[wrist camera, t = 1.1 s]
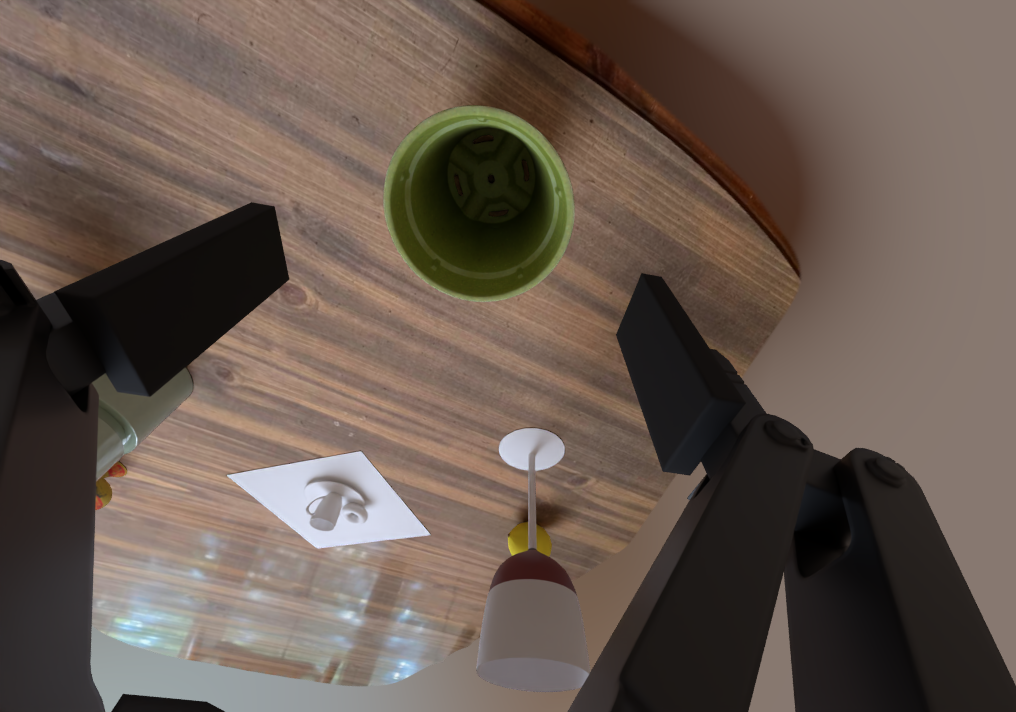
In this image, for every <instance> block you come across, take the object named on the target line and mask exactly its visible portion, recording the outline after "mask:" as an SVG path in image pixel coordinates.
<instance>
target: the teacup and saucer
mask: <svg viewBox="0 0 1016 712" xmlns="http://www.w3.org/2000/svg"><path fill="white" fill-rule="evenodd" d="M302 494H303V497H304V499H305V500H306V501H307V502H308V503H309V504H308V505H307V506H306V507H305V513H306V515H307V516H309V517H310V519H309V521H308V524H309V525H310V526H311V527H312V528H313V529H315V530H317V531H320V532H332V531H333V530H334V529H335V528H336V526H337V523H338V520H339V517H340V516H341V517H342V518H343V519H344V520H345V521H346V522H347V523H349V524H351V525H355V526H360V525H363V524H365V523H366V522H367V521H368V519H369V512H368V510H367V509H366V508H365V506H366V502H365V499H364V497H363V496H362V495H361V494H360V493H359V492H358V491H357V490H356V489H354V488H352V487H351V486H349V485H346V484H344V483H341V482H337V481H332V480H316V481H312V482H310V483H308V484H307V485H306V486H305V487H304V488H303V491H302ZM311 506H312V507H314V508H315V510H314V512H311V511H310V507H311Z"/></svg>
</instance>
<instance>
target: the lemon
mask: <svg viewBox="0 0 1016 712" xmlns="http://www.w3.org/2000/svg"><path fill="white" fill-rule="evenodd" d="M536 541H537V551H539V552H540V553H542V554H545V555H547V556H548V557H549V556H550V553H551V547H552V544H551V540H550V536H549V535H548V534H547V532H546V531H545V530H544V528H542V527H541V526H539V525H537V524H536ZM508 545H509V550H510V552H511V555H512V556H513V555H515V554H517V553H520V552H524V551H527V550H528V522H524V523H521V524H518V525H517V526H516V527H515V528H513V529H512V531H511V532H510V533H509V534H508Z"/></svg>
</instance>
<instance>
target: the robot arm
mask: <svg viewBox="0 0 1016 712" xmlns="http://www.w3.org/2000/svg"><path fill="white" fill-rule="evenodd" d="M288 280H289V275H288V270H287V266H286V261H285V256H284V251H283V246H282V241H281V236H280V231H279V226H278V221H277V216H276V211H275V207H274V206H269V205H263V204H258V203H252V202H251V203H249V204H247V205H245V206H243V207H240V208H238V209H236V210H234V211H232V212H229V213H227V214H225V215H223V216H220V217H218V218H216V219H214V220H212V221H209V222H207V223H205V224H203V225H201V226H198V227H196V228H194V229H192V230H190V231H187V232H185V233H183V234H181V235H178V236H176V237H174V238H172V239H170V240H167V241H165V242H163V243H161V244H159V245H156V246H154V247H152V248H150V249H147V250H145V251H143V252H141V253H139V254H136V255H134V256H132V257H130V258H128V259H125V260H123V261H121V262H119V263H116V264H114V265H112V266H110V267H108V268H105V269H103V270H101V271H99V272H97V273H94V274H92V275H90V276H88V277H85V278H83V279H81V280H79V281H77V282H74V283H72V284H70V285H68V286H66V287H63V288H61V289H59V290H57V291H55V292H53V293H51V294H49V295H47V296H44V297H42V298H40V299H38V300H36V299H35V298H34V296H33V295H32V293H31V292H30V290H29V289H28V288H27V286H26V285H25V283H24V282H23V280H22V279H21V277H20V276H19V274H18V273H17V271H16V270H15V268H14V267H13V265H12V264H11V263H8V262H6V261H3V260H0V712H105V709H104V705H103V701H102V698H101V696H100V694H99V692H98V690H97V688H96V686H95V684H94V682H93V679H92V674H91V665H90V657H91V627H92V596H93V565H94V534H95V503H96V472H97V441H98V410H99V394H98V392H97V390H96V388H95V387H94V385H93V384H92V382H94V381H95V380H97V379H98V378H99V377H101V376H102V375H104V374H105V373H106V375H107V376H108V378H109V380H110V381H111V383H112V384H113V386H114V388H115V389H116V391H117V392H120V393H127V394H134V395H141V396H147V397H151V396H152V395H153V394H154V393H156V392H157V391H158V390H159V389H160V388H161V387H163V386H164V385H165V384H166V383H167V382H169V381H170V380H171V379H172V378H173V377H174V376H176V375H177V374H178V373H179V372H180V371H182V370H183V369H184V368H185V367H186V366H187V365H189V364H190V363H191V362H192V361H193V360H195V359H196V358H197V357H198V356H199V355H200V354H202V353H203V352H204V351H205V350H206V349H208V348H209V347H210V346H211V345H212V344H214V343H215V342H216V341H217V340H218V339H219V338H221V337H222V336H223V335H224V334H225V333H227V332H228V331H229V330H230V329H231V328H232V327H234V326H235V325H236V324H237V323H238V322H240V321H241V320H242V319H243V318H244V317H245V316H247V315H248V314H249V313H250V312H251V311H253V310H254V309H255V308H256V307H257V306H258V305H260V304H261V303H262V302H263V301H264V300H266V299H267V298H268V297H269V296H270V295H271V294H273V293H274V292H275V291H276V290H277V289H279V288H280V287H281V286H282V285H283V284H284V283H286V282H287V281H288ZM616 336H617V339H618V342H619V345H620V348H621V351H622V354H623V357H624V360H625V362H626V365H627V368H628V371H629V374H630V377H631V380H632V383H633V386H634V389H635V392H636V395H637V398H638V400H639V403H640V406H641V409H642V412H643V415H644V418H645V421H646V424H647V427H648V430H649V433H650V436H651V438H652V441H653V444H654V447H655V450H656V453H657V456H658V459H659V462H660V465H661V468H662V471H663V472H670V473H677V474H684V475H691V473H692V472H693V471H694V469H695V468H696V467H697V466H698V464H699V463H700V462H702V464H703V466H704V468H705V471H706V473H707V474H706V476H705V477H704V478H703V479H702V481H701V482H700V483H699V484H698V485H697V487H696V488H695V489H694V490H693V492H692V493H691V494H690V495H689V496H688V498H687V499H689V500H690V501H689V502H688V504H687V506H686V508H685V509H684V511H683V513H682V515H681V517H680V518H679V520H678V521H677V523H676V525H675V527H674V528H673V530H672V532H671V533H670V535H669V537H668V539H667V540H666V542H665V544H664V546H663V547H662V549H661V551H660V553H659V554H658V556H657V558H656V560H655V561H654V563H653V565H652V566H651V568H650V570H649V572H648V573H647V575H646V577H645V578H644V580H643V582H642V584H641V586H640V587H639V589H638V591H637V593H636V594H635V596H634V598H633V599H632V601H631V603H630V605H629V606H628V608H627V610H626V612H625V613H624V615H623V617H622V619H621V620H620V622H619V623H618V625H617V627H616V629H615V630H614V632H613V634H612V636H611V638H610V639H609V641H608V643H607V644H606V646H605V648H604V649H603V651H602V653H601V655H600V656H599V658H598V660H597V662H596V663H595V665H594V667H593V669H592V670H591V672H590V674H589V675H588V677H587V679H586V681H585V682H584V684H583V686H582V688H581V689H580V691H579V693H578V694H577V696H576V698H575V700H574V701H573V703H572V705H571V707H570V709H569V710H568V712H748V710H749V706H750V702H751V698H752V694H753V691H754V687H755V683H756V679H757V675H758V671H759V667H760V663H761V659H762V655H763V651H764V647H765V643H766V639H767V635H768V631H769V628H770V624H771V619H772V616H773V612H774V607H775V604H776V600H777V596H778V591H779V588H780V584H781V580H782V576H783V572H784V579H785V591H786V602H787V615H788V627H789V638H790V651H791V663H792V675H793V687H794V699H795V711H796V712H1016V686H1015V683H1014V681H1013V679H1012V677H1011V675H1010V673H1009V671H1008V669H1007V667H1006V665H1005V663H1004V660H1003V659H1002V656H1001V654H1000V652H999V650H998V648H997V646H996V644H995V642H994V639H993V637H992V635H991V633H990V631H989V629H988V627H987V625H986V623H985V621H984V619H983V617H982V614H981V612H980V610H979V608H978V606H977V604H976V602H975V600H974V598H973V596H972V594H971V591H970V589H969V587H968V585H967V583H966V581H965V579H964V577H963V575H962V573H961V571H960V568H959V566H958V564H957V562H956V560H955V558H954V556H953V554H952V552H951V550H950V548H949V546H948V544H947V541H946V539H945V537H944V535H943V533H942V531H941V529H940V527H939V525H938V523H937V520H936V518H935V516H934V514H933V512H932V510H931V508H930V506H929V504H928V502H927V500H926V497H925V495H924V493H923V491H922V489H921V487H920V486H919V484H918V483H917V482H916V480H915V479H914V478H913V477H912V476H911V475H910V474H909V473H908V472H907V471H906V470H905V468H903V467H902V466H901V465H900V464H898V463H895V461H894V460H892V459H891V458H889V457H885V456H883V455H881V454H879V453H877V452H875V451H872V450H868V449H865V448H855V449H853V450H852V451H850V452H849V453H848V454H847V455H846V456H845V457H843V458H842V459H838V458H836V457H833V456H830V455H828V454H825V453H822V452H820V451H817V450H814V449H813V444H812V443H811V442H810V440H809V438H808V437H807V436H806V435H805V434H804V433H803V432H802V431H801V430H800V429H799V428H797V427H796V426H794V425H793V424H791V423H790V422H788V421H786V420H784V419H782V418H779V417H777V416H774V415H770V414H766V412H765V411H764V409H763V408H762V407H761V405H760V404H759V402H758V401H757V399H756V398H755V397H754V395H753V394H752V393H751V391H750V390H749V388H748V387H747V385H745V384H744V381H743V380H742V378H741V377H740V375H737V371H736V370H735V368H734V367H733V366H732V364H731V363H730V361H729V360H727V359H726V358H725V357H724V356H723V355H721V354H720V353H719V352H718V351H717V350H714V349H710V348H709V347H708V345H707V344H706V342H705V341H704V339H703V338H702V336H701V335H700V333H699V332H698V330H697V329H696V328H695V326H694V325H693V323H692V322H691V320H690V319H689V317H688V316H687V314H686V313H685V311H684V310H683V308H682V307H681V305H680V304H679V302H678V301H677V299H676V298H675V296H674V295H673V293H672V292H671V290H670V289H669V287H668V286H667V284H666V283H665V281H664V280H663V278H662V277H659V276H654V275H648V274H643V273H642V274H641V276H640V278H639V281H638V283H637V286H636V288H635V291H634V293H633V295H632V298H631V300H630V303H629V305H628V307H627V310H626V312H625V315H624V317H623V319H622V322H621V324H620V327H619V329H618V331H617V334H616ZM112 712H224V711H223V710H221V709H219V708H217V707H215V706H213V705H211V704H210V703H208V702H202V701H192V700H181V699H171V698H161V697H150V696H139V695H129V694H123V695H122V696H121V698H120V699H119V701H118V703H117V704H116V706H115V707H114V709H113V710H112Z"/></svg>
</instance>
